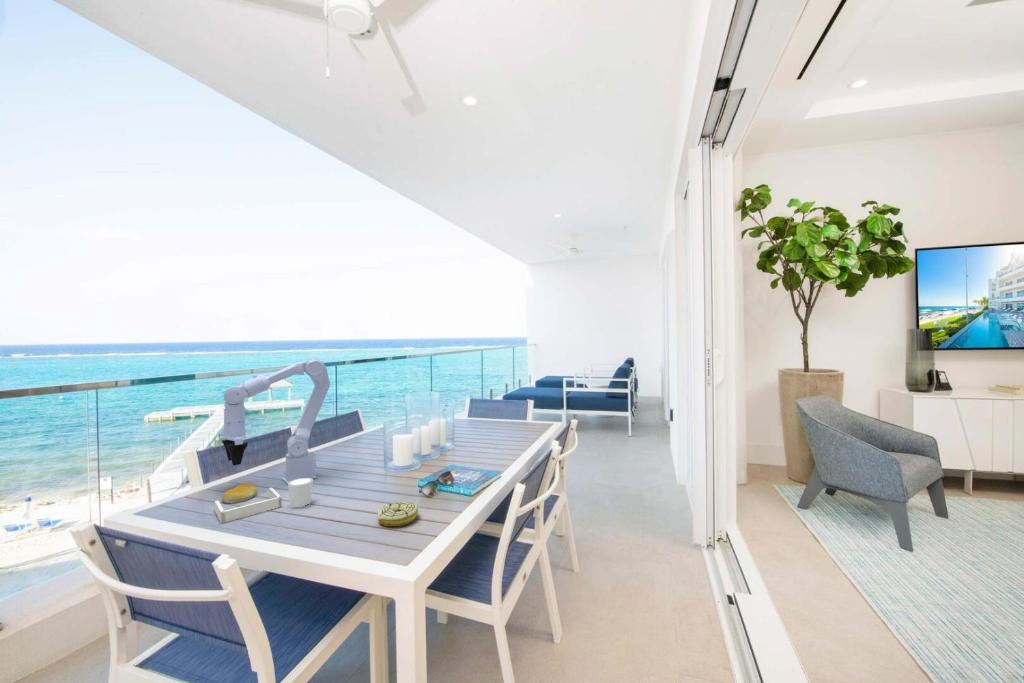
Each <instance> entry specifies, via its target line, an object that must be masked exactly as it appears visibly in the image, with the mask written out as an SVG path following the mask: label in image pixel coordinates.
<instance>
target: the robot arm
mask: <svg viewBox="0 0 1024 683" xmlns="http://www.w3.org/2000/svg"><path fill="white" fill-rule="evenodd" d="M327 368H328V367H326V365H325V364H324V362H323V361H321V360H319V359H317V358H309V359H307V360H303V361H299V362H296V363H293V364H290V365H289V366H287V367H284V368H282V369H279V370H278V371H275V372H273V373H271V374H269V375H264V374H259V375H257V374H254V375H252V378H249V379H247V380H244V381H242V382H241V381H239V382H237V383H236V384H237V385H232V386H230V387H228V388H227V389H226V390H225V391H224V393H223V400H224V409H223V435H220V436H219V440H221V443H222V444H223V447H224V448H225V452H226V457H227V459H228V461H229V462H230V461H231V464H232V466H239V465H241V464H242V461H243V458H244V454H245V450H246V448H247V447H248V445H249V443H248V442H243V441H244V440H243V439H244V438H245V437H246V407H245V399H247V398H248V399H250V398H252V397H254V396H256V395H258V394H261V393H263V392H265V391H268V390H269V389H270V387H271V385H272V384H274V383H277V382H280V381H283V380H285V379H287V378H291V377H292V376H295V375H297V376H298V375H299V376H304V375H305V374H306V375H307V376H308V377H309V378H310V379H311V381H312V383H313V385H314V387H313V390H312V392H311V395H310V397H309V399H308V401H307V404H306V405H305V408H304V411H303V413H302V415H301V417H300V420H299V422H298V424H297V426H296V428H294V431H293V432H292V434H291V435H290V436H289V437H288V438H287V440H286V447H287V453H286V454H285V476H284V477H281V480H282V481H283V482H285V484H287V485H288V483H289V482H290V481H292V480H295V479H299V478H312V479H313V480H314V479H317V456H316V454H315V452H314V451H311V452H309V450H308V449H309V439H310V436H311V433H312V429H313V427H314V424H315V422H316V420H317V417H318V415H319V413H320V410H321V407H322V406H323V403H324V400H325V399H326V396H327V394H328V391H329V389H330V387H331V381H330V378H329V374H328V369H327Z"/></svg>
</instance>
